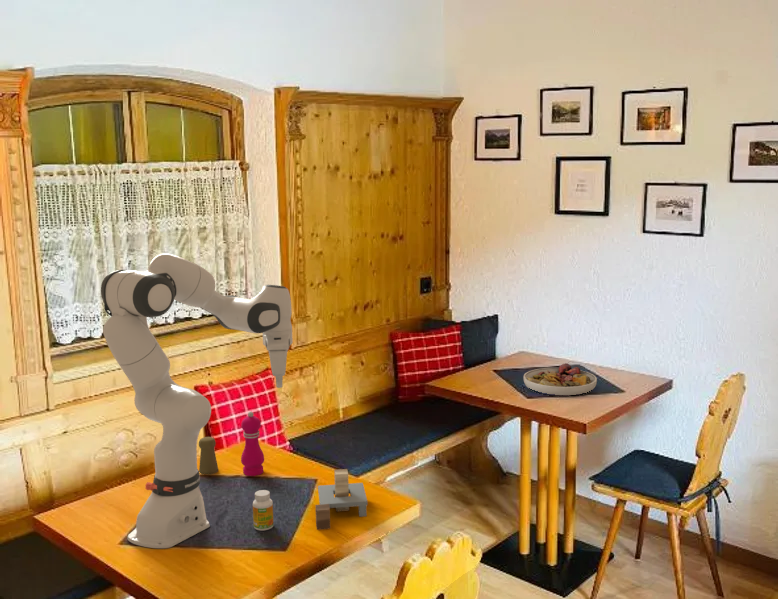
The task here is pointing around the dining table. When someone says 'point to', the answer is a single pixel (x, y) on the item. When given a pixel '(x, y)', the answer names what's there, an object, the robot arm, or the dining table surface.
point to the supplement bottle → (262, 511)
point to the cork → (207, 456)
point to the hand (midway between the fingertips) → (279, 382)
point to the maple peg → (341, 486)
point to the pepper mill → (252, 446)
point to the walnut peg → (323, 516)
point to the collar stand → (354, 499)
